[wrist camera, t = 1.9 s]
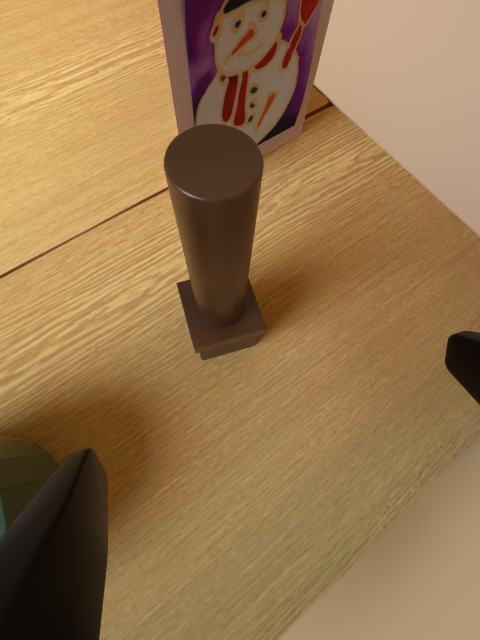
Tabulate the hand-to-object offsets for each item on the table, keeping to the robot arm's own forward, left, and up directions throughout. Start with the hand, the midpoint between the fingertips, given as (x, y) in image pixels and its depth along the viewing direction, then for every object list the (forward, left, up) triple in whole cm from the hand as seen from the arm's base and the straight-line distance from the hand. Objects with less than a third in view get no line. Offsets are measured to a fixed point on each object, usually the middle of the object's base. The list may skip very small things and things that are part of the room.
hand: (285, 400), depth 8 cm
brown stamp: (+6, -3, -13) cm, 14 cm away
